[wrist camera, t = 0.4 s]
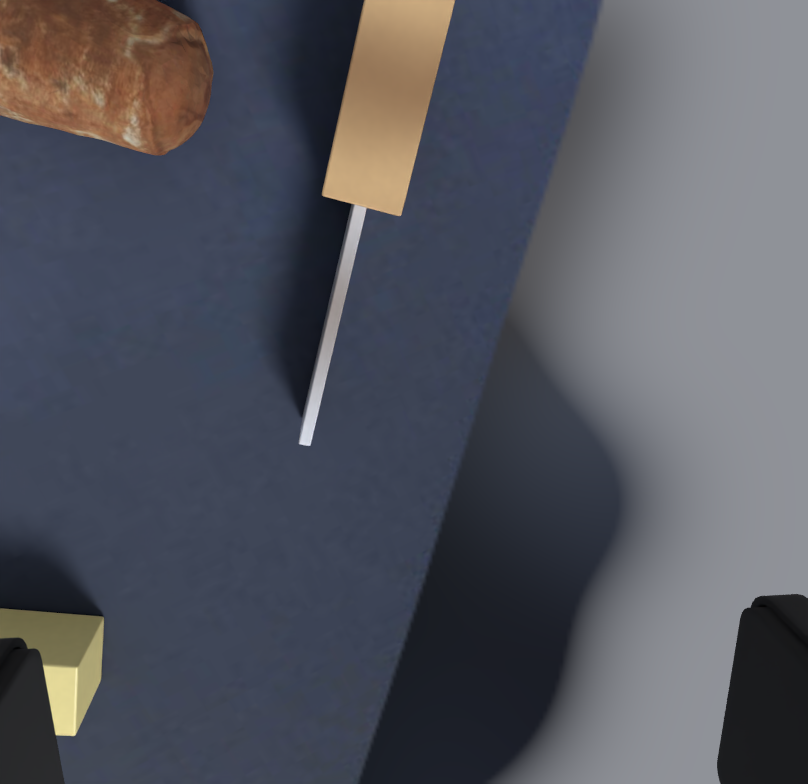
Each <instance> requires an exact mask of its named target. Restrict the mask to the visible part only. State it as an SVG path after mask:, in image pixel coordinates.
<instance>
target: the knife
mask: <svg viewBox="0 0 808 784" xmlns="http://www.w3.org/2000/svg"><path fill="white" fill-rule="evenodd" d="M454 3H455V0H364V3H363V7H362V12H361V16H360V21H359V25H358V30H357V35H356V39H355V44H354V48H353V53H352V57H351V62H350V67H349V71H348V76H347V80H346V85H345V89H344V94H343V99H342V103H341V108H340V112H339V117H338V121H337V126H336V130H335V135H334V140H333V144H332V149H331V153H330V158H329V162H328V167H327V172H326V176H325V181H324V185H323V190H322V196H324V197H328V198H332V199H336V200H339V201H343V202H347V203H351V204H352V205H351V209H350V213H349V218H348V222H347V226H346V231H345V235H344V239H343V244H342V248H341V252H340V257H339V261H338V265H337V270H336V274H335V278H334V283H333V287H332V291H331V296H330V300H329V304H328V309H327V313H326V317H325V322H324V326H323V330H322V335H321V339H320V343H319V348H318V352H317V356H316V361H315V365H314V369H313V374H312V378H311V382H310V387H309V391H308V395H307V399H306V404H305V408H304V412H303V417H302V422H301V429H300V437H299V444H302V445H307V446H310V445H311V441H312V437H313V432H314V428H315V424H316V420H317V415H318V411H319V407H320V403H321V399H322V394H323V390H324V386H325V382H326V377H327V373H328V369H329V365H330V361H331V356H332V352H333V348H334V344H335V340H336V335H337V331H338V327H339V323H340V318H341V314H342V310H343V306H344V302H345V297H346V293H347V289H348V285H349V280H350V276H351V272H352V268H353V264H354V259H355V255H356V251H357V247H358V242H359V238H360V234H361V230H362V226H363V221H364V217H365V213H366V209H367V208H370V209H374V210H377V211H381V212H385V213H389V214H393V215H397V216H401V214H402V210H403V206H404V202H405V198H406V194H407V190H408V186H409V182H410V178H411V174H412V170H413V166H414V162H415V158H416V154H417V151H418V147H419V143H420V139H421V135H422V131H423V127H424V123H425V119H426V115H427V111H428V107H429V103H430V99H431V95H432V91H433V87H434V83H435V79H436V75H437V71H438V67H439V63H440V59H441V55H442V51H443V47H444V43H445V39H446V35H447V31H448V27H449V23H450V19H451V15H452V11H453V7H454Z"/></svg>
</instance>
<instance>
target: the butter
mask: <svg viewBox="0 0 808 784" xmlns="http://www.w3.org/2000/svg"><path fill="white" fill-rule="evenodd" d="M103 627H104V617H101V616H89V615H77V614H64V613H52V612H40V611H28V610H15V609H3V608H0V638H16V637H19V638H22V639H23V640H24V641H25V643H26V644H27V648H28V649H32V648H35V649H38V651H39V652H40V654H41V658H42V663H43V668H44V674H45V679H46V685H47V690H48V696H49V701H50V707H51V712H52V718H53V723H54V728H55V734H56V735H65V736H75V735H76V733H77V731H78V729H79V726H80V724H81V722H82V720H83V718H84V716H85V713H86V711H87V709H88V707H89V705H90V703H91V700H92V698H93V696H94V694H95V692H96V690H97V687H98V685H99V683H100V681H101V669H102V648H103Z"/></svg>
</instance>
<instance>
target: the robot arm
mask: <svg viewBox="0 0 808 784" xmlns="http://www.w3.org/2000/svg"><path fill="white" fill-rule="evenodd" d="M717 769H718V776H719V780H720V783H721V784H808V598H806V597H805V596H803V595H798V594H791V595H773V596H760V597H757V598H755V600H754V601H753V603H752V605H751V608H747V609H744V611H743V612H742V615H741V618H740V624H739V630H738V636H737V643H736V649H735V655H734V661H733V667H732V673H731V680H730V687H729V692H728V698H727V704H726V711H725V717H724V723H723V729H722V735H721V742H720V748H719V754H718V760H717ZM0 784H65V783H64V778H63V772H62V767H61V761H60V756H59V750H58V745H57V739H56V734H55V728H54V723H53V718H52V712H51V707H50V701H49V696H48V690H47V685H46V679H45V674H44V668H43V663H42V658H41V654H40V652H39V651H38V649H35V648H32V649H28V648H27V644H26V643H25V641H24V640H23V639H22V638H19V637H16V638H0Z"/></svg>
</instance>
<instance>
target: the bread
mask: <svg viewBox="0 0 808 784" xmlns="http://www.w3.org/2000/svg"><path fill="white" fill-rule="evenodd" d="M212 78H213V68H212V62H211V59H210V56H209V53H208V49H207V46H206V43H205V40H204V37H203V34H202V31H201V29H200V26H199V24H198V23H196V22H195V21H194V20H192V19H191V18H189V17H188V16H186V15H184V14H182V13H180V12H178V11H176V10H175V9H173V8H171V7H169V6H167V5H165V4H163V3H161V2H159V1H156V0H0V115H2V116H5V117H9V118H12V119H15V120H19V121H22V122H26V123H30V124H36V125H42V126H46V127H50V128H54V129H59V130H63V131H66V132H70V133H73V134H76V135H80V136H86V137H92V138H96V139H100V140H104V141H108V142H111V143H114V144H117V145H120V146H123V147H126V148H129V149H133V150H136V151H140V152H144V153H148V154H153V155H165V154H166V153H167V152H168V151H170V150H172V149H174V148H176V147H178V146H180V145H182V144H183V143H184V142H185V141H187V140H188V139H189V138H190V137H191V136H193V134H194V133H195V132H196V130H197V129H198V128H199V126H200V125H201V123H202V121H203V119H204V116H205V113H206V111H207V108H208V105H209V100H210V95H211V84H212Z"/></svg>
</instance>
